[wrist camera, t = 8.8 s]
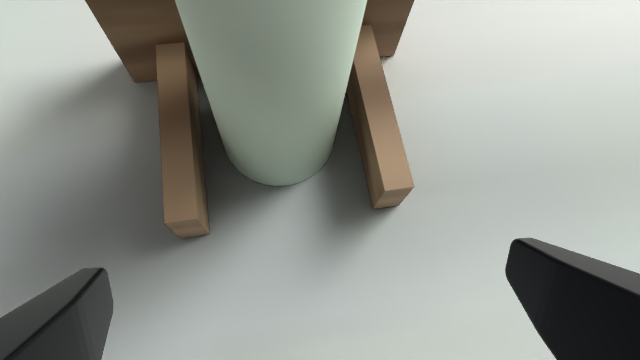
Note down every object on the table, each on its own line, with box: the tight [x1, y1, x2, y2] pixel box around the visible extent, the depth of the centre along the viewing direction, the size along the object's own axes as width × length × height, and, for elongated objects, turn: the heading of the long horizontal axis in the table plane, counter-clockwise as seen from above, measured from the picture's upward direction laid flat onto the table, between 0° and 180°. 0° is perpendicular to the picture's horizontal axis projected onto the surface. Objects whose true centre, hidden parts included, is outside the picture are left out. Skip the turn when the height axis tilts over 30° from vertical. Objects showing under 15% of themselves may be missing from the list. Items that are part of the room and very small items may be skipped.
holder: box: [85, 0, 414, 238], centre depth 17 cm, size 10×13×7 cm
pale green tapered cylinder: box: [175, 0, 367, 186], centre depth 14 cm, size 5×5×12 cm
